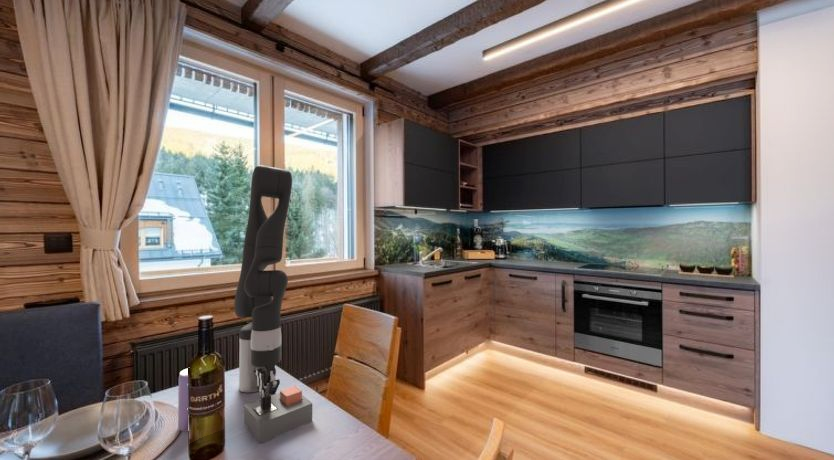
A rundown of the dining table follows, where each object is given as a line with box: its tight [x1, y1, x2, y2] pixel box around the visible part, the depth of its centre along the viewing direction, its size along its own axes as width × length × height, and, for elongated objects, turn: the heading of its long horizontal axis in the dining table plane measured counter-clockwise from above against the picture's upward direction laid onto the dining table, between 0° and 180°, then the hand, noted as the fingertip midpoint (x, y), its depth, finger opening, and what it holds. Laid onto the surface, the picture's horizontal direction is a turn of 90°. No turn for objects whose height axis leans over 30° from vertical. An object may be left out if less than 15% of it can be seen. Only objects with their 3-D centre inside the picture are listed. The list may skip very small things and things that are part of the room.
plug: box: [254, 403, 277, 416], centre depth 88 cm, size 4×4×4 cm
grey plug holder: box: [243, 392, 313, 444], centre depth 91 cm, size 12×14×5 cm
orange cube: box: [279, 385, 303, 406], centre depth 93 cm, size 4×4×4 cm
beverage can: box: [177, 367, 189, 433], centre depth 89 cm, size 6×6×15 cm
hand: (265, 408), depth 88 cm, fingers closed
